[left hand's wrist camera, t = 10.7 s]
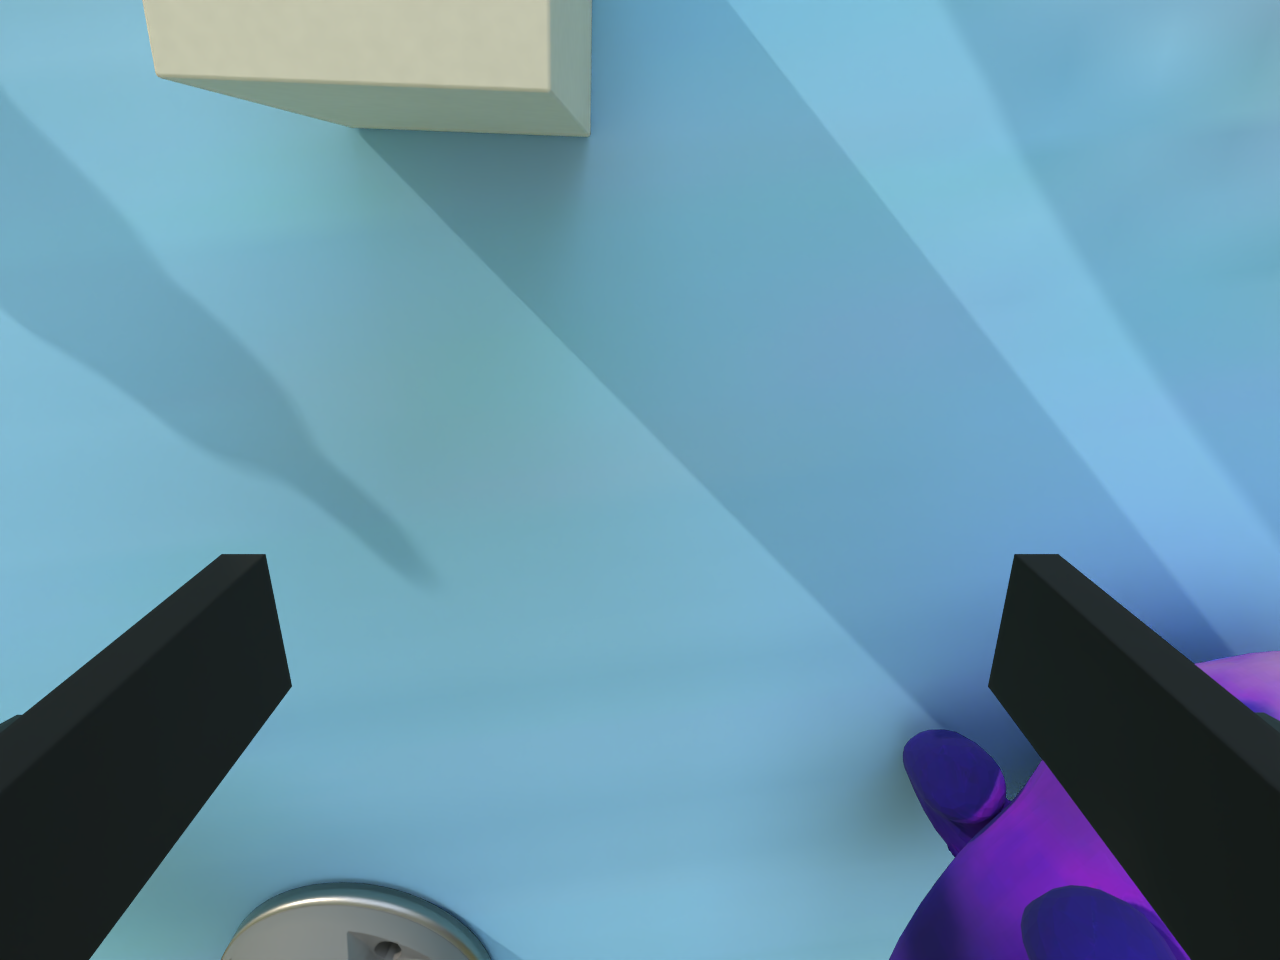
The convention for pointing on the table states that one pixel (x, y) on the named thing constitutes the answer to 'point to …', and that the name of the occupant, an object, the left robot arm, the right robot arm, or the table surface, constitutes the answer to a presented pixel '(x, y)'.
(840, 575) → the table surface
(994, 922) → the toy
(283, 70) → the brick
